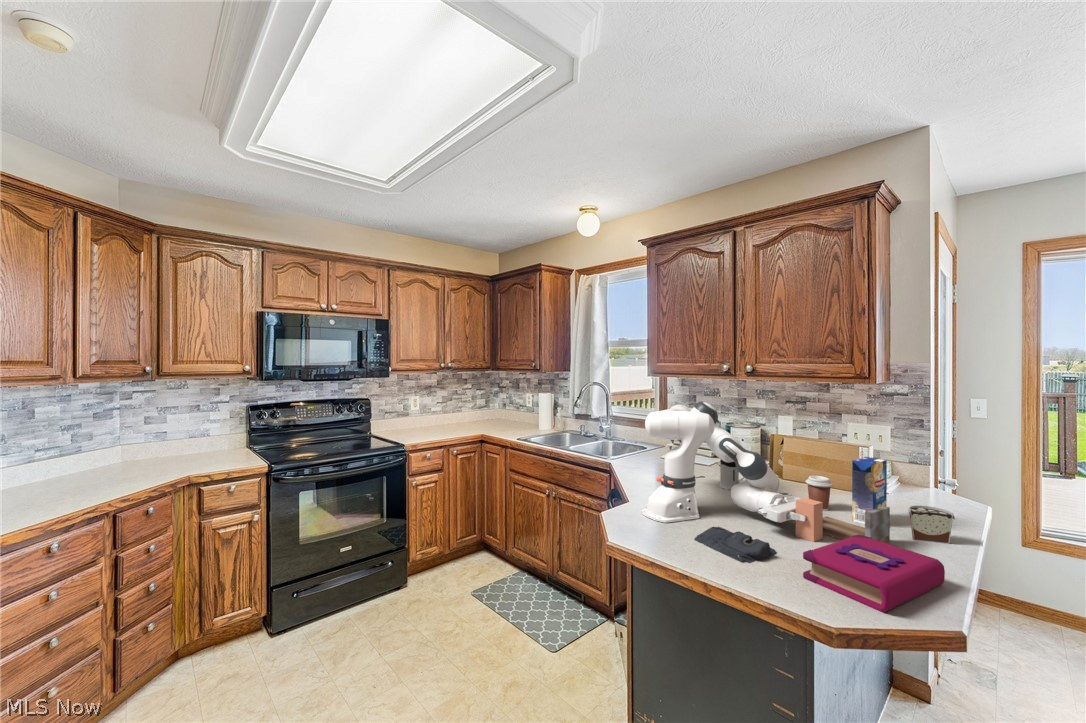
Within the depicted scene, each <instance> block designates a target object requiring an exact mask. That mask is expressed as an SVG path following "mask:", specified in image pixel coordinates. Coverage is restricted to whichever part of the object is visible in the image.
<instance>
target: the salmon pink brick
mask: <svg viewBox="0 0 1086 723" xmlns="http://www.w3.org/2000/svg"><path fill="white" fill-rule="evenodd" d="M800 498H801V497H800ZM823 512H824V511H823V502H819V501H815V500H812V499H809V497H802V498H801V499H798V500H796V514H803V515H806V516H807V521H800V520H795V536H796V537H798V538H802V539H805V540H807V541H810V542H813V543H814V542H818V541H821V540H823V536H824V534H823Z"/></svg>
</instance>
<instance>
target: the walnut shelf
mask: <svg viewBox="0 0 1086 723" xmlns="http://www.w3.org/2000/svg"><path fill="white" fill-rule="evenodd" d="M890 509H891V508H890V506H887V507H886V506H883V507H880V508H877V509H874V510H871V511H868V512H865V524H864V526H860V525H857V524H854V523H853V524H852V523H849V522H846V521H843V520H839V519H835V518H832V517H829V516H824V517H823V535H826V536H829V537H832V538H835V539H838V540H840V541H841V540H844V539H847V538H850V537H851V536H854V535H864V536H867V537H870V538H872V539H875V540H878V541H881V542H884V543H887V544H888V543H889V542H891V541H890V538H891V537H890V535H891V533H890V531H891V530H890V528H891V519H890V518H891V517H890V516H891V515H890V513H891V511H890Z"/></svg>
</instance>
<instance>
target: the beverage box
mask: <svg viewBox="0 0 1086 723" xmlns="http://www.w3.org/2000/svg"><path fill="white" fill-rule="evenodd" d="M887 461H888V460H887V459H884V458H875V457H871V456H863V457H858V458H856V459H853V460H852V461H851V462H852V464H851V465H852V467H851V469H852V470H851V471H852V472H851V473H852V474H851V475H852V478H851V481H852V483H851V487H852V489H851V493H852V495H851V508H852V509H851V521H852V522H856V523H859V524H864V525H865V512H868V511H871V510H874V509H877V508H880V507H883V506H886V507H888V506H887V502H888V499H887V497H888V496H887V493H888V492H887V488H888V487H887V485H888V482H887V479H888V478H887V475H888V474H887V473H888V472H887V469H888V468H887V466H888V465H887V463H888V462H887Z"/></svg>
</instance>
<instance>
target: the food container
mask: <svg viewBox="0 0 1086 723" xmlns="http://www.w3.org/2000/svg"><path fill="white" fill-rule="evenodd" d="M906 515H907V516H909V520H910V528H911V536H912V540H913V541H916V542H926V543H936V544H946V545H950V541H951V535H952V526H953V520H956V518H955V514H954V512H952V511H949V510H947V509H943V508H939V507H935V506H928V505H912V506H911V505H910V506H909V508H908V510H907V513H906Z"/></svg>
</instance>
